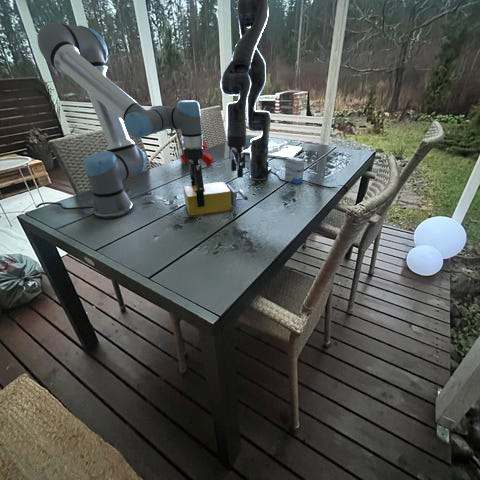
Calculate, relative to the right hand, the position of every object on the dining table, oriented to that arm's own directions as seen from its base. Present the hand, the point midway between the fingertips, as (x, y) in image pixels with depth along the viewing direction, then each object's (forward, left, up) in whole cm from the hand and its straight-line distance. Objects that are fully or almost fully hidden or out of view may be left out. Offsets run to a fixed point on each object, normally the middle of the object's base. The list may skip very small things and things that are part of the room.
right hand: (236, 174), depth 113 cm
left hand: (+17, +5, -9) cm, 20 cm away
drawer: (+7, +2, -13) cm, 15 cm away
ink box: (-31, -25, -14) cm, 42 cm away
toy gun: (+22, -60, -14) cm, 65 cm away
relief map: (-31, -85, -14) cm, 92 cm away
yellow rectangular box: (+13, +4, -14) cm, 19 cm away
